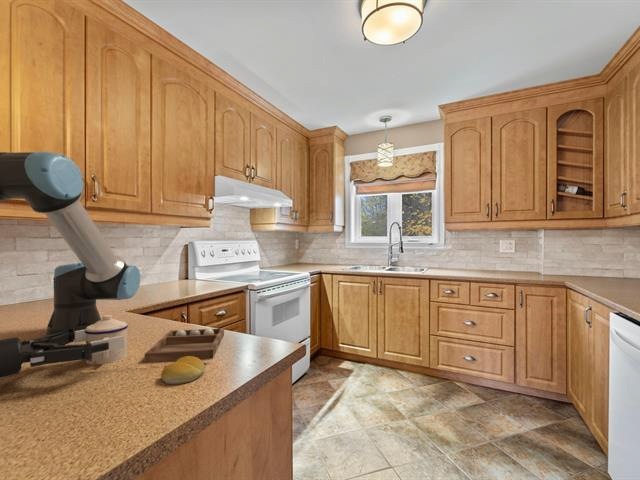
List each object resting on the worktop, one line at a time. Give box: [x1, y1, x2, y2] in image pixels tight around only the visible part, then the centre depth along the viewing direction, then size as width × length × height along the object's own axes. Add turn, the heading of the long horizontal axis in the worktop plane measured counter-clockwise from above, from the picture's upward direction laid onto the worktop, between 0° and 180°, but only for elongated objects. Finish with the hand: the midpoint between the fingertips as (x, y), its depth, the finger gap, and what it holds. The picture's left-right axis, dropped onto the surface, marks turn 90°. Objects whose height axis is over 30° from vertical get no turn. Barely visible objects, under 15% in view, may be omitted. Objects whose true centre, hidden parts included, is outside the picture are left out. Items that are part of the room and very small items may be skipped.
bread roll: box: [160, 356, 206, 385], centre depth 72 cm, size 8×9×4 cm
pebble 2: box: [190, 328, 200, 335], centre depth 96 cm, size 3×3×3 cm
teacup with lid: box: [85, 314, 129, 365], centre depth 79 cm, size 12×9×12 cm
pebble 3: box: [204, 328, 214, 335], centre depth 96 cm, size 3×3×3 cm
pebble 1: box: [175, 329, 186, 336], centre depth 95 cm, size 3×3×3 cm
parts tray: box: [144, 327, 225, 363], centre depth 89 cm, size 21×16×3 cm
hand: (113, 336), depth 80 cm, fingers open, 13 cm apart
